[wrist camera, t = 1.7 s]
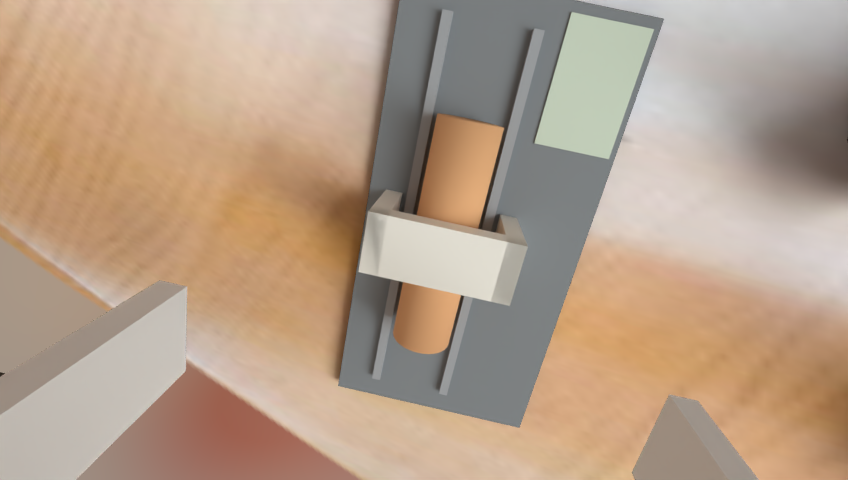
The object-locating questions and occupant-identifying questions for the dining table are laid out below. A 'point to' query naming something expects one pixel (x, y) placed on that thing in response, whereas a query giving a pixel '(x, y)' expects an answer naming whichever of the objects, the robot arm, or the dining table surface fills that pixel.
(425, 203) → the tan cylindrical rod
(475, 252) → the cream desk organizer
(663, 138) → the dining table surface
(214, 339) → the dining table surface
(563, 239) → the guide mat
